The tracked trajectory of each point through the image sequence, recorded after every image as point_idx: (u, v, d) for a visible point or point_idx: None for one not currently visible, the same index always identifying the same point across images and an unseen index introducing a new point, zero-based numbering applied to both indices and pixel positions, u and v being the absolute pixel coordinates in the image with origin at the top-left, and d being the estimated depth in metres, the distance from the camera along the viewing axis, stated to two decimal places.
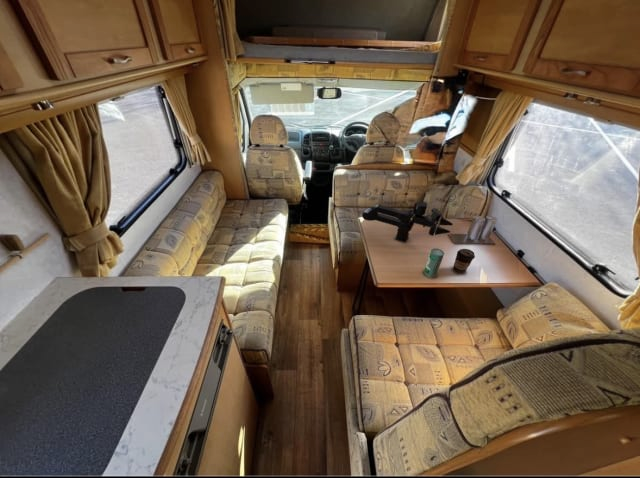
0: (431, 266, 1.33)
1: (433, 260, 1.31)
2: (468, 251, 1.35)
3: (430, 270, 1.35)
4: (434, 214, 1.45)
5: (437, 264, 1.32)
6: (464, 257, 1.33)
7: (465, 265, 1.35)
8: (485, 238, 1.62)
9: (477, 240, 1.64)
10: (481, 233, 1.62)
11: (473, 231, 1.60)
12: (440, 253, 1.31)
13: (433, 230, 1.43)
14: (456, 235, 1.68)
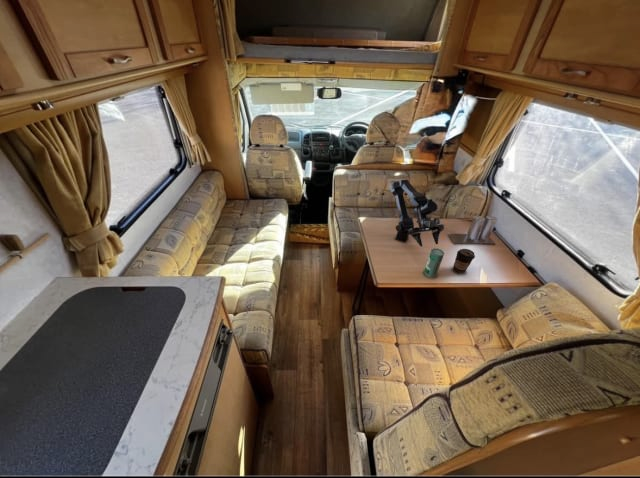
0: (431, 266, 1.33)
1: (433, 260, 1.31)
2: (468, 251, 1.35)
3: (430, 270, 1.35)
4: (428, 223, 1.33)
5: (437, 264, 1.32)
6: (464, 257, 1.33)
7: (465, 265, 1.35)
8: (485, 238, 1.62)
9: (477, 240, 1.64)
10: (481, 233, 1.62)
11: (473, 231, 1.60)
12: (440, 253, 1.31)
13: (410, 232, 1.37)
14: (456, 235, 1.68)
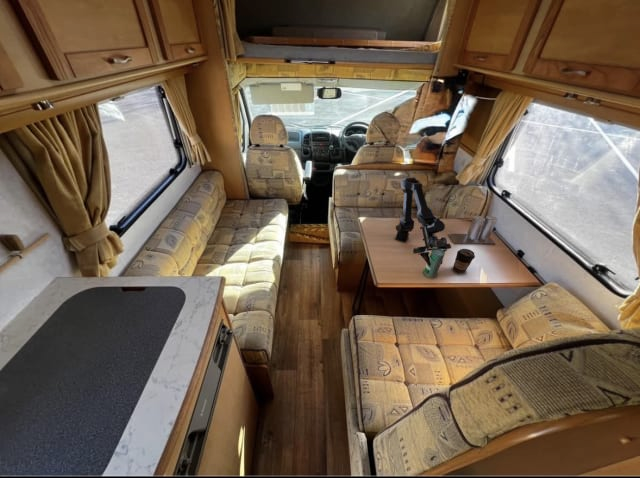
0: (431, 266, 1.33)
1: (433, 260, 1.31)
2: (468, 251, 1.35)
3: (430, 270, 1.35)
4: (434, 243, 1.29)
5: (437, 264, 1.32)
6: (464, 257, 1.33)
7: (465, 265, 1.35)
8: (485, 238, 1.62)
9: (477, 240, 1.64)
10: (481, 233, 1.62)
11: (473, 231, 1.60)
12: (441, 253, 1.30)
13: (416, 251, 1.33)
14: (456, 235, 1.68)
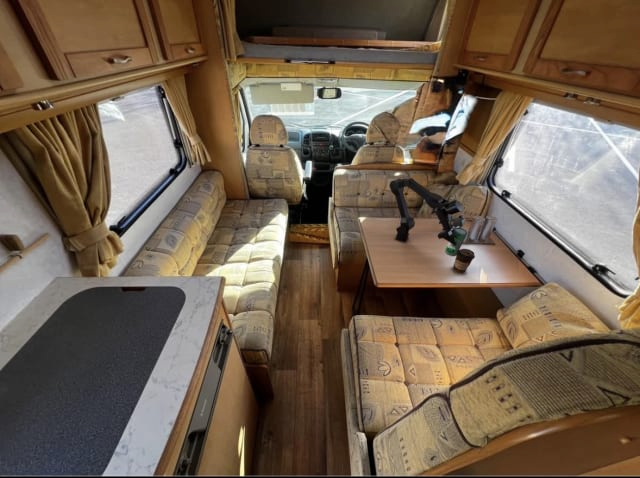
0: (457, 245, 1.38)
1: (459, 239, 1.36)
2: (468, 251, 1.35)
3: (455, 249, 1.40)
4: (458, 223, 1.33)
5: (462, 242, 1.38)
6: (464, 257, 1.33)
7: (465, 265, 1.35)
8: (485, 238, 1.62)
9: (477, 240, 1.64)
10: (481, 233, 1.62)
11: (473, 231, 1.60)
12: (463, 231, 1.37)
13: (444, 236, 1.34)
14: None
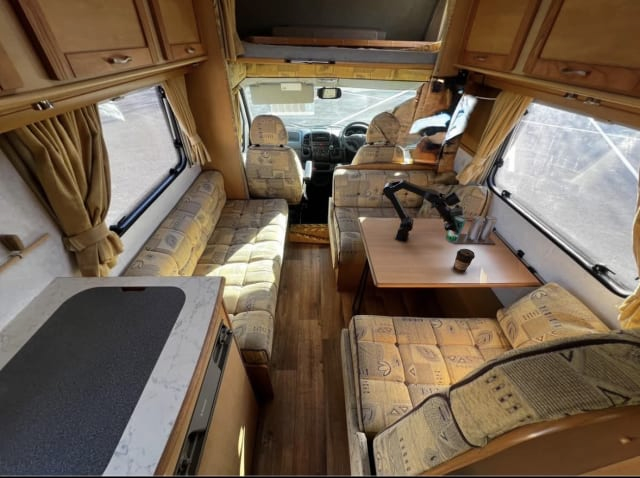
0: (459, 232, 1.49)
1: (461, 226, 1.46)
2: (468, 251, 1.35)
3: (457, 236, 1.50)
4: (460, 212, 1.42)
5: (462, 228, 1.49)
6: (464, 257, 1.33)
7: (465, 265, 1.35)
8: (485, 238, 1.62)
9: (477, 240, 1.64)
10: (481, 233, 1.62)
11: (473, 231, 1.60)
12: (461, 218, 1.48)
13: (452, 227, 1.41)
14: None
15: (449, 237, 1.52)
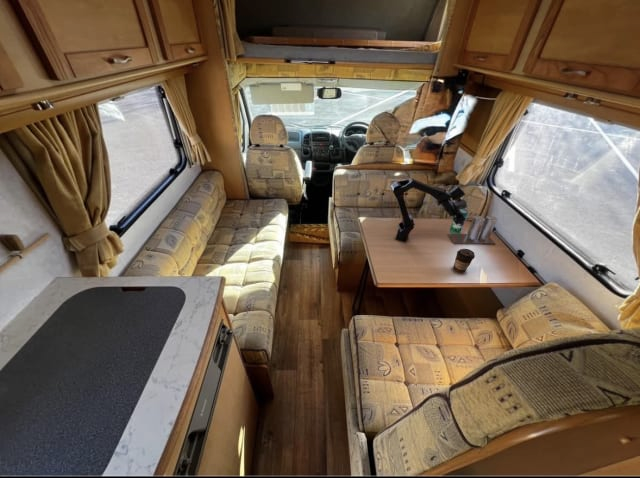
0: None
1: None
2: (468, 251, 1.35)
3: (462, 227, 1.58)
4: (465, 205, 1.50)
5: None
6: (464, 257, 1.33)
7: (465, 265, 1.35)
8: (485, 238, 1.62)
9: (477, 240, 1.64)
10: (481, 233, 1.62)
11: (473, 231, 1.60)
12: (463, 210, 1.56)
13: (462, 220, 1.48)
14: (456, 235, 1.68)
15: (454, 229, 1.59)
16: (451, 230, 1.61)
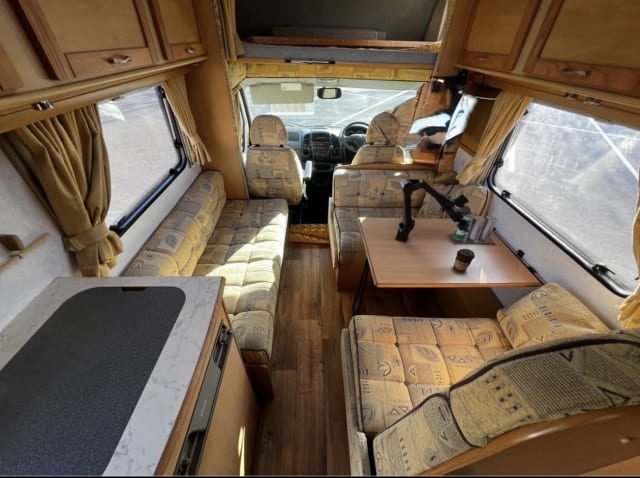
0: None
1: None
2: (468, 251, 1.35)
3: (465, 234, 1.61)
4: (468, 212, 1.52)
5: None
6: (464, 257, 1.33)
7: (465, 265, 1.35)
8: (485, 238, 1.62)
9: (477, 240, 1.64)
10: (481, 233, 1.62)
11: (473, 231, 1.60)
12: (466, 217, 1.58)
13: (466, 226, 1.50)
14: None
15: (458, 236, 1.62)
16: (454, 236, 1.64)
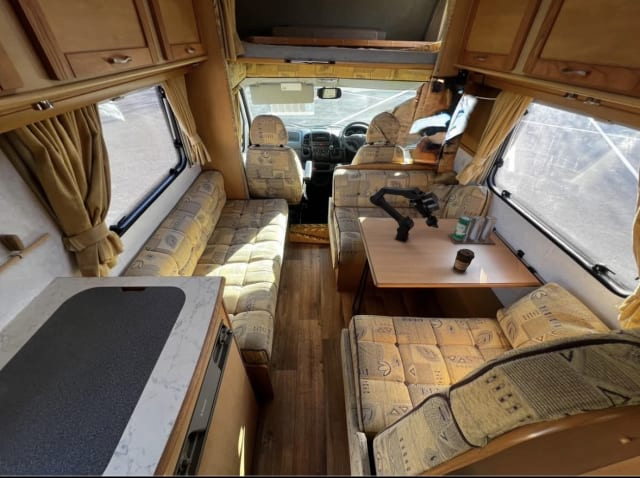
0: (466, 230, 1.59)
1: (468, 225, 1.57)
2: (468, 251, 1.35)
3: (465, 234, 1.61)
4: (437, 207, 1.47)
5: None
6: (464, 257, 1.33)
7: (465, 265, 1.35)
8: (485, 238, 1.62)
9: (477, 240, 1.64)
10: (481, 233, 1.62)
11: (473, 231, 1.60)
12: (466, 217, 1.58)
13: (434, 222, 1.45)
14: None
15: (457, 236, 1.62)
16: (454, 237, 1.64)
